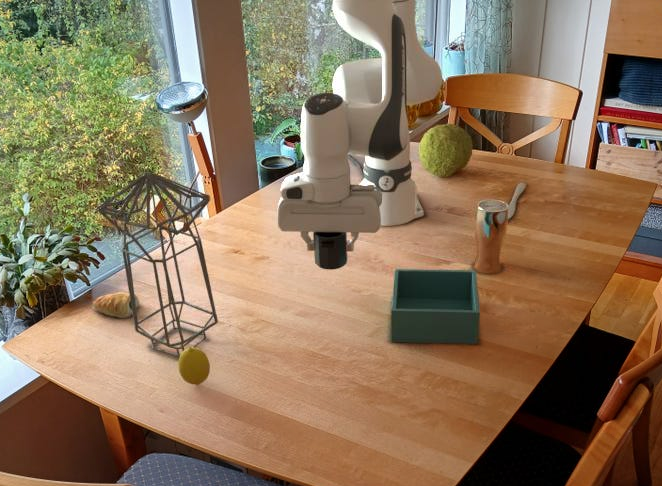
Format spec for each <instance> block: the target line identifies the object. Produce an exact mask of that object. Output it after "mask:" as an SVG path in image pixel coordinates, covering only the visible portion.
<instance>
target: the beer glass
mask: <svg viewBox="0 0 662 486" xmlns="http://www.w3.org/2000/svg"><path fill="white" fill-rule="evenodd" d="M508 205H509V203H507V202H505V201H503V200H499V199H491V198H490V199H483V200H481V201H479V202H478V203H477V206H476V212H475V219H474V235H475V236H474V237H475V247H476V256H475V259H474V263H473V269H474V270H476V272H477V273H482V274H485V275H486V274H488V275H489V274H496V273H498V272H499V271H501V269H502V261H501V253H502V248H503V245H504V242H505V239H506V236H507V235H506V234H507V231H508V224H509V223H508V222H509V219H508Z"/></svg>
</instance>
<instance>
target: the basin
mask: <svg viewBox="0 0 662 486" xmlns="http://www.w3.org/2000/svg"><path fill="white" fill-rule="evenodd" d="M393 274H394V275H393V287H392V297H391V298H392V299H391V309H390V314H391V315H390V342H391V343H392V342H395V343H396V342H397V343H424V344H425V343H427V344H428V343H429V344H430V343H431V344H461V345H462V344H466V345H469V344H470V345H473V344H474V345H477V344H478V339H479V330H480V329H479V328H480V316H481V310H480V309H481V308H480V298H479V289H478V288H479V287H478V279H477V271H476V270H475V269H474V270H473V269H472V270H471V269H469V270H467V269H414V268H413V269H409V268H408V269H407V268H394V273H393Z"/></svg>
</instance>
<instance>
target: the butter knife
mask: <svg viewBox="0 0 662 486" xmlns="http://www.w3.org/2000/svg"><path fill="white" fill-rule="evenodd" d="M526 187H527V184H526V183H525V182H520V183H518V184H517V186H516V188H515V190H514V193H513V196H512V198H511V200H510V202H509V203H508V220H509V219H511V218H512V217H513V216H514V214H515V211H516V204H517V199H519V197H520V195H522V193H523V192H524V190H526Z"/></svg>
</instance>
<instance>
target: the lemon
mask: <svg viewBox="0 0 662 486" xmlns="http://www.w3.org/2000/svg"><path fill="white" fill-rule="evenodd" d="M177 363H178V364H177V365H178V366H177V367H178V372H179V375H180V377H181V379H182V380H183V381H184V382H186V383H187V384H190V385H197V386H198V385H200V384H203V383H204V382H205V381H206V380H207V379H208V377H209V376H210V372H211V365H210V364H211V363H210V360H209V358H208V356H207V354H206V352H205V351H204V350H202V349H201V348H198V347H193V346H191V347H187V348H185V349H184V351H183V350H182V352H181V353H180V357H178V362H177Z"/></svg>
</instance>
